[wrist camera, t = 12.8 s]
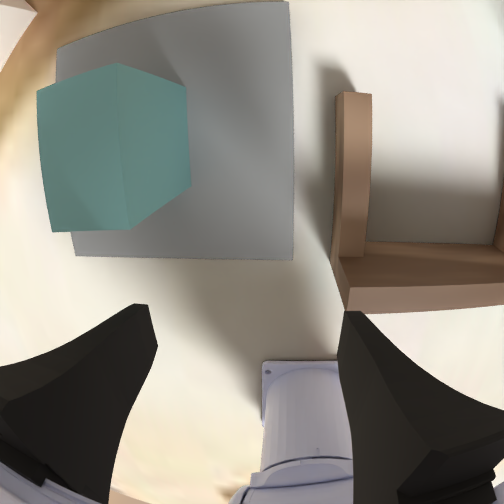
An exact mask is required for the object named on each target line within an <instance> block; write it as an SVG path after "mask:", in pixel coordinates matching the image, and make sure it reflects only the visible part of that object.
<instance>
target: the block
mask: <svg viewBox="0 0 504 504" xmlns="http://www.w3.org/2000/svg"><path fill="white" fill-rule="evenodd" d="M37 124H38V140H39V152H40V161H41V170H42V178H43V185H44V191H45V197H46V203H47V209H48V214H49V219H50V224H51V229H52V232H72V231H100V230H130V229H132V228H133V227H134V226H136V225H137V224H138V223H140V222H141V221H142V220H144V219H145V218H147V217H148V216H149V215H151V214H152V213H154V212H155V211H156V210H158V209H159V208H161V207H162V206H163V205H165V204H166V203H168V202H169V201H170V200H172V199H173V198H175V197H176V196H178V195H179V194H181V193H182V192H184V191H185V190H187V189H188V188H190V187H191V174H190V159H189V143H188V124H187V101H186V87H184V86H182V85H179V84H177V83H174V82H171V81H169V80H166V79H164V78H161V77H158V76H155V75H153V74H150V73H147V72H144V71H141V70H138V69H135V68H132V67H129V66H126V65H123V64H120V63H114V64H110V65H107V66H103V67H100V68H97V69H94V70H91V71H88V72H85V73H82V74H79V75H76V76H73V77H70V78H68V79H65V80H62V81H60V82H57V83H55V84H52V85H50V86H47V87H45V88H43V89H40V90H38V91H37Z"/></svg>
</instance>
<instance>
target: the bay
mask: <svg viewBox="0 0 504 504" xmlns="http://www.w3.org/2000/svg"><path fill="white" fill-rule="evenodd" d="M335 115H336V147H335V188H334V210H333V227H332V242H331V255H330V264H331V267H332V270H333V273H334V277H335V280H336V283H337V286H338V289H339V292H340V296H341V299H342V302H343V305H344V309H345V311H362V312H363V313H364V314H382V313H405V312H424V311H439V310H452V309H464V308H476V307H486V306H495V305H504V181H503V190H502V197H501V204H500V210H499V216H498V222H497V227H496V232H495V237H494V242H493V245H482V244H450V243H413V242H368V241H365V239H366V230H367V219H368V208H369V194H370V178H371V155H372V94H368V93H358V92H347V91H343V92H341V93H340V94H338V95H336V96H335Z"/></svg>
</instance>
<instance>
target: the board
mask: <svg viewBox="0 0 504 504" xmlns="http://www.w3.org/2000/svg"><path fill="white" fill-rule="evenodd" d="M114 63H120V64H123V65H126V66H129V67H132V68H135V69H138V70H141V71H144V72H147V73H150V74H153V75H155V76H158V77H161V78H164V79H166V80H169V81H171V82H174V83H177V84H179V85H182V86H184V87H186V101H187V124H188V143H189V159H190V174H191V187H190V188H188V189H187V190H185V191H184V192H182V193H181V194H179V195H178V196H176V197H175V198H173V199H172V200H170V201H169V202H168V203H166V204H165V205H163V206H162V207H161V208H159V209H158V210H156V211H155V212H154V213H152V214H151V215H149V216H148V217H147V218H145V219H144V220H142V221H141V222H140V223H138V224H137V225H136V226H134V227H133V228H132V229H130V230H100V231H72V232H71V237H72V241H73V246H74V250H75V255H76V256H93V257H137V258H188V259H251V260H293V222H294V116H293V77H292V52H291V31H290V14H289V2H250V3H235V4H225V5H215V6H208V7H200V8H194V9H188V10H182V11H177V12H171V13H167V14H162V15H157V16H153V17H149V18H145V19H141V20H137V21H134V22H130V23H126V24H123V25H120V26H116V27H113V28H110V29H107V30H104V31H101V32H98V33H95V34H93V35H90V36H87V37H85V38H82V39H79V40H77V41H74V42H72V43H70V44H67V45H65V46H62V47H60V48H58V49H57V61H56V83H57V82H60V81H62V80H65V79H68V78H70V77H73V76H76V75H79V74H82V73H85V72H88V71H91V70H94V69H97V68H100V67H103V66H107V65H110V64H114Z"/></svg>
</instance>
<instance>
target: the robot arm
mask: <svg viewBox="0 0 504 504" xmlns="http://www.w3.org/2000/svg"><path fill="white" fill-rule="evenodd" d="M157 348H158V344H157V340H156V336H155V333H154V329H153V324H152V320H151V316H150V312H149V307H148V305H146V304H132V305H130V306H128V307H126V308H125V309H123V310H121V311H120V312H118V313H117V314H115V315H113V316H112V317H110V318H109V319H107V320H105V321H104V322H102V323H101V324H99V325H97V326H96V327H94V328H93V329H91V330H89V331H88V332H86V333H84V334H82V335H81V336H79V337H77V338H75V339H74V340H72V341H70V342H68V343H66V344H64V345H62V346H60V347H58V348H56V349H54V350H51V351H49V352H47V353H44V354H41V355H39V356H36V357H33V358H30V359H28V360H25V361H21V362H18V363H14V364H10V365H6V366H1V367H0V504H108V501H109V492H110V485H111V478H112V473H113V468H114V463H115V458H116V454H117V450H118V447H119V443H120V439H121V436H122V433H123V430H124V426H125V423H126V420H127V418H128V415H129V413H130V410H131V408H132V406H133V404H134V402H135V400H136V398H137V396H138V394H139V392H140V390H141V388H142V386H143V384H144V382H145V380H146V377H147V375H148V373H149V371H150V369H151V367H152V364H153V361H154V358H155V354H156V351H157ZM266 370H270V371H266ZM262 426H263V427H264V433H263V445H262V455H261V466H260V472H256V473H252V474H251V481H250V485H244V486H242V487H240V488H239V489H238V490H237V492H236V493H235V494H234V495H233V496H232V498H231V499H230V501H229V504H504V482H502V483H501V484H499V485H497V486H496V487H494V488H493V486H492V482H491V481H493V480H494V479H495V477H496V475H495V472H494V470H493V468H494V467H495V466H496V465H497V464H498V463H499V462H500V461H501V460H502V459H503V458H504V410H501V409H498V408H495V407H492V406H489V405H486V404H483V403H481V402H479V401H477V400H474V399H472V398H470V397H468V396H466V395H464V394H462V393H460V392H458V391H456V390H454V389H453V388H451V387H449V386H448V385H446V384H444V383H442V382H441V381H439V380H438V379H436V378H435V377H433V376H432V375H430V374H429V373H428V372H426V371H425V370H423V369H422V368H421V367H419V366H418V365H417V364H416V363H414V362H413V361H412V360H411V359H410V358H408V357H407V356H406V355H405V354H404V353H403V352H401V351H400V350H399V349H398V348H397V347H396V346H395V345H394V344H393V343H392V342H391V341H390V340H389V339H388V338H387V337H386V336H385V335H384V334H383V333H382V332H381V331H380V330H379V329H378V328H377V327H376V326H375V325H374V324H373V323H372V322H371V321H370V320H369V319H368V318H367V316H366V315H365V314H364V313H363V312H362V311H344V317H343V323H342V329H341V335H340V340H339V346H338V351H337V361H265V362H263V364H262Z"/></svg>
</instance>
